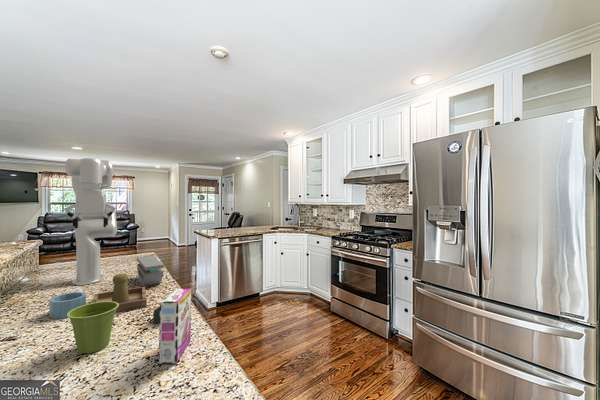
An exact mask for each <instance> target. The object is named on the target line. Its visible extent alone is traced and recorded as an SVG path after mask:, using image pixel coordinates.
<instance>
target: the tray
mask: <svg viewBox="0 0 600 400" xmlns="http://www.w3.org/2000/svg"><path fill="white" fill-rule="evenodd" d="M127 289H128V295H129V301H128V302H124V303H118V304H119V306H118V307H117V309H116V313H115V314H118V313H123V312H127V311H129V312H130V311H132V310H138V309H143V308H147V292H146V291H147V290H146V286H144V287H142V286H140V287H139V286H138V287H132V288H127ZM112 296H113V290H112V291H105V292H98V293H94V295H93V298H92V301H91V303H96V302H103V301H112Z"/></svg>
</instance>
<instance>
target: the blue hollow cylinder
mask: <svg viewBox="0 0 600 400" xmlns="http://www.w3.org/2000/svg"><path fill="white" fill-rule="evenodd" d="M48 301H49V306H48V307H49V309H48V310H49V311H48V312H49V313H48V314H49V318H50V319H51V320H61V319H62V320H63V319H67V318H69V317H68V316H67V313H68V312H69V311H71V310H73V309H75V308H77V307H79V306H83V305H86V304H87V292H84V291H75V292H72V291H71V292H67V293H62V294H59V295H56V296H53V297H51V298H50V299H49V300H48Z"/></svg>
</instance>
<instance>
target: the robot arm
mask: <svg viewBox="0 0 600 400" xmlns="http://www.w3.org/2000/svg"><path fill="white" fill-rule="evenodd" d="M64 170H65V173H66V175H68V176H70V177H71V180H70V181H71V187H72V189H73V192H74V195H75V204H72V205H69V206H66V207H64V208H63V210H64V211H65V213H66V215H68V217H70V218H71V219H72V227H73V231H74V235H75V236H74V237H75V244H76V250H75V251H76V255H75V256H76V259H75V260H76V262H75V263H76V269H75V271H76V273H75V274H76V275H75V277H76V278H75V279H73V280H72V281H71V284H72V285H74V286H85V285H91V284H96V283H100V282H102V281H103V280H104V278H105V277H104V276H103V275H101V245H100V243H99V242H97V241H96V240H95V239H97V238H98V239H99V238H111V237H114V236H115V235H117V231H118V223H117V213H116V212H117V211H116V207H115V206H114V204H112V203H110V202H107V201H106V198H107V197H106V193H105V191H104V190H105V189H110V188H111V187H112V184H113V183H112V182H113V175H114V166H113V164H112V162H111V161H109V160H105V159H99V158H90V157H89V158H88V157H86V158H85V157H84V158H67V160H66V161H65V165H64ZM73 209H74V211H75V213H72V212H71V210H73ZM79 219H80V220H79Z"/></svg>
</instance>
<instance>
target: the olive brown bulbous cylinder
mask: <svg viewBox="0 0 600 400" xmlns="http://www.w3.org/2000/svg"><path fill="white" fill-rule="evenodd" d="M128 280H129V276H128V274H126V273H119V274H115V275H114V276H113V277H112V283H113V288H112V289H113V290H112V291H113V296H112V302H117V303H124V302H128V301H129V295H128V289H129V288H128V283H127V282H128Z"/></svg>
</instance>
